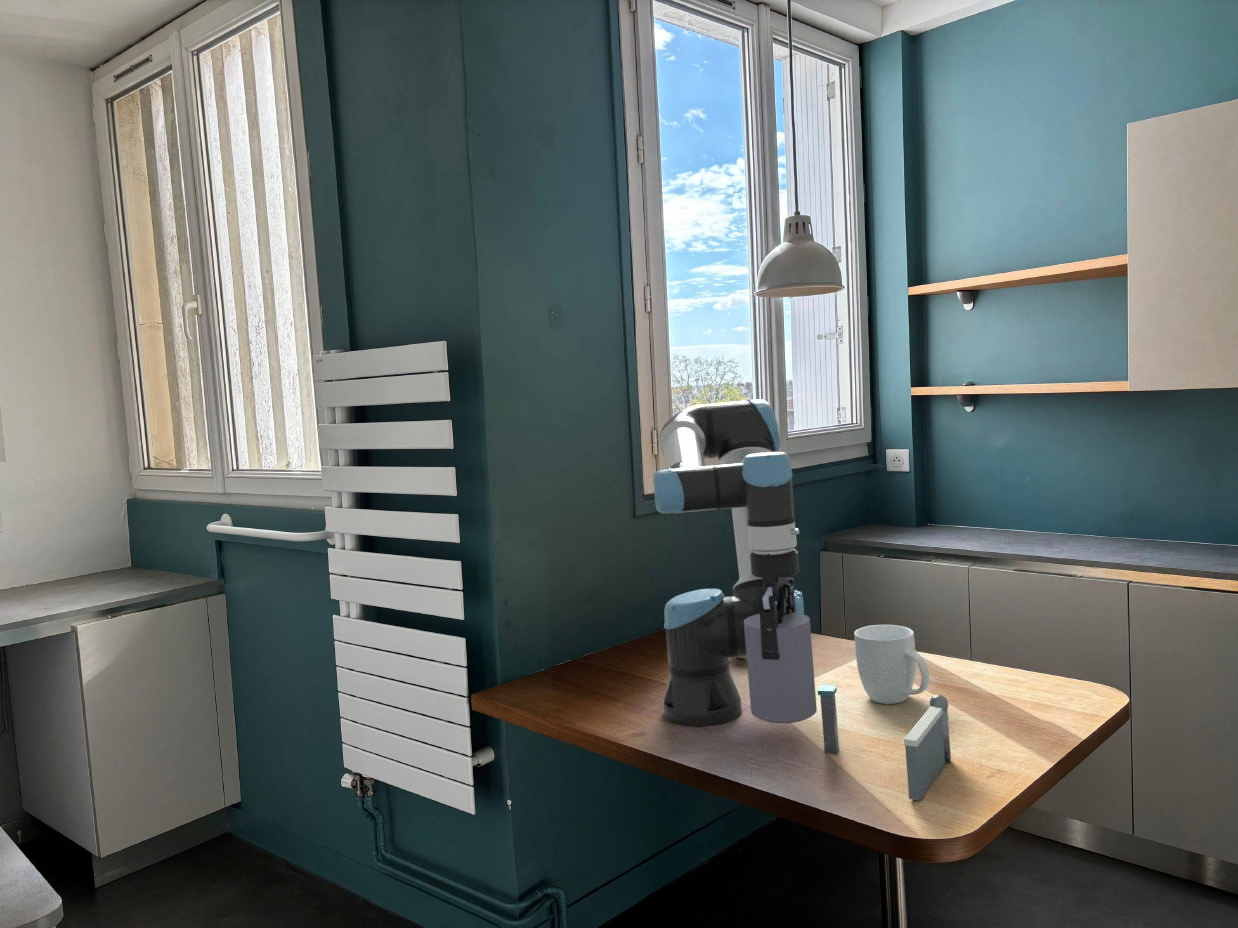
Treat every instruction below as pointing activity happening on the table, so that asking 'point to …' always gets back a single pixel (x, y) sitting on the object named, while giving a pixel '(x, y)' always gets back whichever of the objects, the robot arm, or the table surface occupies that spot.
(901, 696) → the mug
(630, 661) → the table surface
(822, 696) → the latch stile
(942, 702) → the hinge post
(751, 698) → the container
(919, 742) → the grey flat board
